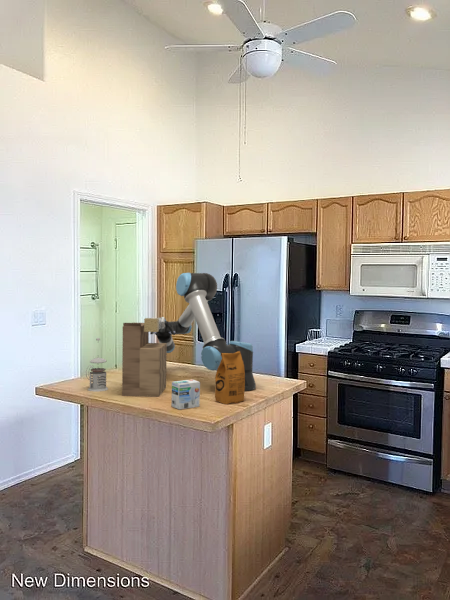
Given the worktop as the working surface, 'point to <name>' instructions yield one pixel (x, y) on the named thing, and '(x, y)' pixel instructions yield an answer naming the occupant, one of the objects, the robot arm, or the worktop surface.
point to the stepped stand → (142, 363)
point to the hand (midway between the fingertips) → (158, 319)
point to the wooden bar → (152, 324)
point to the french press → (97, 375)
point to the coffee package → (230, 379)
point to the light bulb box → (185, 394)
